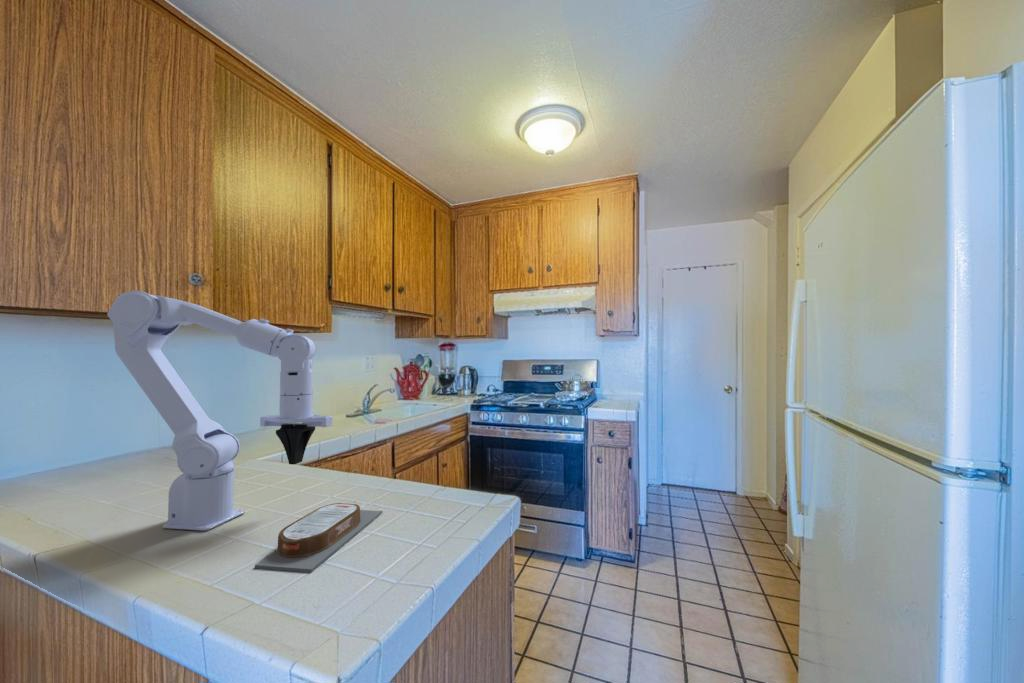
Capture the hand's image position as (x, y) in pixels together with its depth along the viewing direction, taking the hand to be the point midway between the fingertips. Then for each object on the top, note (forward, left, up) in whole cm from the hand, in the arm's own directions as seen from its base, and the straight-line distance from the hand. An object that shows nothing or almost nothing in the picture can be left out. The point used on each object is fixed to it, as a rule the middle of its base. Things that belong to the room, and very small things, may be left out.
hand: (295, 462), depth 73 cm
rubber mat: (+14, -9, -9) cm, 19 cm away
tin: (+8, -9, -7) cm, 14 cm away
